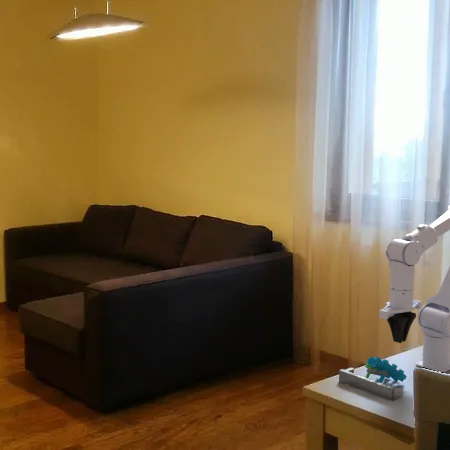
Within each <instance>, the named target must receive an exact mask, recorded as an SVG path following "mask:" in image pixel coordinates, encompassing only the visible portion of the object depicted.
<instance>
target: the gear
mask: <svg viewBox="0 0 450 450" xmlns="http://www.w3.org/2000/svg"><path fill="white" fill-rule="evenodd" d="M389 362H390V361H389V360H388V359H385V358H383V360H382V359H381V358H380V357H379V356H374V357H373V356H370V357H368V359H367V360H366V364H365V365H364V367H365V368H366V372H367V373H366V375H365V376H364V377H365V378H368V379H370V378H369V377H370V376H371V375H374V376H378V377H379V378H378V381H377V382H379V383H382V384H383V382H384V380H385V378H387V379H390V378H391V379H392V380H393V381H394V380H395V382H399V381H400V382H401V383H402V382H404V381H405V380H406V379H407V375H406V374H404V373H405V370H403V369H402V368H399V369H397V368H398V365H396V364H395V363H392V364H390V363H389Z"/></svg>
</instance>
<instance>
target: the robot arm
mask: <svg viewBox="0 0 450 450" xmlns="http://www.w3.org/2000/svg"><path fill="white" fill-rule="evenodd" d="M448 231H450V205H448V206H447V209H446V212H445V213H443V214H442V215H441V216H439V217H438V218H437V219H436V220H435V221H433V222H432V223H431V224H429V225H427V224H418V225H417V226H416V229H414V230H412V231H411V232H410V233H408V234H405V235H404V237H402V238H400V239H399V238H395V239H393V240H392V241H390V242H389V244H387V249H386V250H385V256H386V259H387V260H388V267H389V268H390V270H389V271H390V273H389V276H390V277H389V294H388V295H389V298H388V301H387V302H385V307H383V308H382V309H379V318H380V319H384V320H386V321H387V323H388V325H389V328H390V331H391V336H392V341H393V342H395V343H398V344H402V342H406V341H407V338H408V334H409V332H410V330H411V329H410V328H411V327H412V324H413V322H414V321H415V319H416V318H417V319H416V320H417V324H418V325H419V327H421V332H423V339H422V340H423V341H422V342H423V343H422V360H420V361H418V362H415V366H416V367H417V366H418V367H421V368H423V367H425V368H424V369H426V368H429V369H432V370H435V371H440V372H444V373H446V372H448V371H450V266H448V269H447V271H446V273H445V276H444V278H443V281H442V283H441V286H440V288H439V289H438V291H437V292H438V293H436V294H435V295H433V296H430V297H428V298H427V299H426V301H425V303H424V304H423V306H422V301H421V300H418V299H414V292H415V291H414V290H415V265H416V264H418V263H419V261H420V260H421V256H423V254H424V253H425V252H426V251H428V250H429V249H431V247H433V246H435V245H436V244H437V243H438V240H439V238H438V237H440V236H442V235H444V234H446V233H447V232H448ZM414 310H419V311H418V313H416V312H412V311H414ZM429 369H428V370H429ZM432 370H431V371H432ZM435 371H434V372H435Z"/></svg>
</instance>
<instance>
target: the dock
mask: <svg viewBox="0 0 450 450" xmlns="http://www.w3.org/2000/svg"><path fill="white" fill-rule="evenodd" d="M365 377H366V376H362V375H360V374H358V373H355V368H354V367H349V368H346V369H344V368H343V369H342V368H341V369H339V370H338V382H339V383H342V384H345V385H346V386H350V387H352V388H355V389H357V390H360V391H363V392H366V393H368V394H370V395H374V396H376V397H378V398H381V399H385V400H386V401H390V402H393V401H395V400H397V399H400V398H402V397H403V396H404V394H403V393H404V385H401V384H398V385H396V386H390V385H387V384H385V383H383V382H382V383H379V382H378V381H376V380H374V379H371V378H365Z"/></svg>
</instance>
